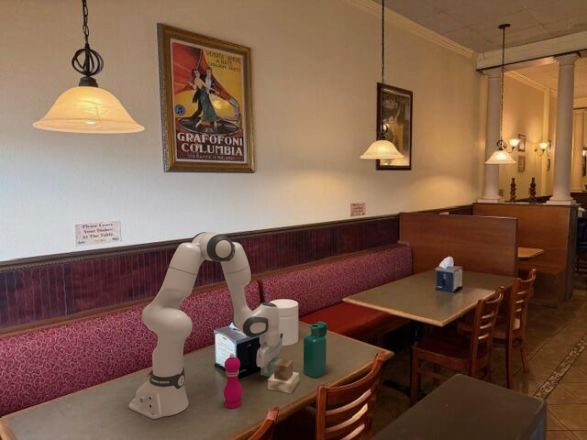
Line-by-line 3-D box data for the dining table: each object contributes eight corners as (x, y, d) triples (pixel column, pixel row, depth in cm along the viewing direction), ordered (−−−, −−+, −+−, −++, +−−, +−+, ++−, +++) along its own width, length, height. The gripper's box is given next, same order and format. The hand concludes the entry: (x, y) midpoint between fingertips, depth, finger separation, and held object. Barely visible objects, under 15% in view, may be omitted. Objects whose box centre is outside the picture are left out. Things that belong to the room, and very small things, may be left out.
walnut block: (274, 378, 171) (274, 364, 171) (279, 372, 177) (279, 358, 176) (287, 380, 169) (287, 366, 169) (292, 374, 175) (292, 360, 174)
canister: (302, 336, 228) (302, 300, 226) (292, 347, 213) (291, 309, 211) (275, 332, 233) (275, 298, 231) (263, 343, 218) (263, 306, 216)
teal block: (260, 375, 183) (260, 362, 182) (266, 369, 188) (266, 356, 188) (273, 377, 181) (273, 364, 180) (278, 371, 186) (278, 358, 186)
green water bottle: (314, 379, 179) (314, 330, 177) (301, 372, 185) (301, 324, 183) (330, 372, 185) (330, 324, 183) (317, 365, 192) (317, 319, 189)
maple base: (268, 388, 171) (267, 379, 170) (277, 378, 180) (277, 369, 179) (290, 393, 167) (290, 383, 167) (299, 382, 176) (299, 373, 176)
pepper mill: (238, 409, 155) (237, 358, 153) (220, 407, 157) (219, 357, 155) (244, 399, 162) (244, 350, 160) (227, 397, 164) (226, 349, 162)
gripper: (266, 348, 172) (266, 380, 173) (284, 331, 191) (284, 360, 192) (252, 346, 174) (253, 377, 176) (272, 329, 193) (272, 358, 195)
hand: (269, 368), depth 184 cm, fingers closed on teal block, 6 cm apart
